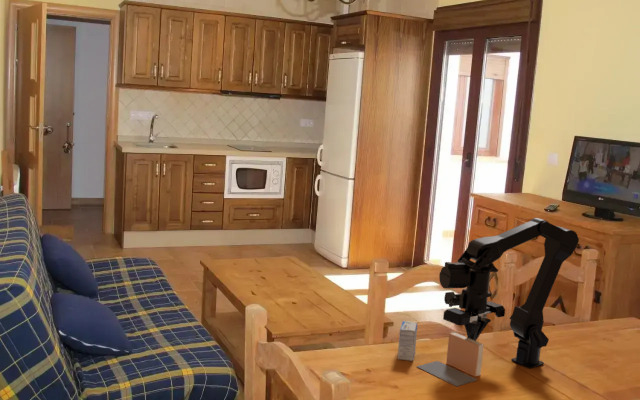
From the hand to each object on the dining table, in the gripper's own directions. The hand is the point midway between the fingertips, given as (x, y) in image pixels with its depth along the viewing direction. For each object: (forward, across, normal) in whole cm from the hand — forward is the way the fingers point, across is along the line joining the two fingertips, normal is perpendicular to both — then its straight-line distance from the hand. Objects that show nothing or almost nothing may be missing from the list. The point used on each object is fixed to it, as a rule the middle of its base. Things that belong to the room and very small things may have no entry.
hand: (471, 343), depth 184 cm
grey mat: (+7, +9, 0) cm, 11 cm away
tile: (+7, +2, 0) cm, 7 cm away
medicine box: (+7, +10, -14) cm, 19 cm away
